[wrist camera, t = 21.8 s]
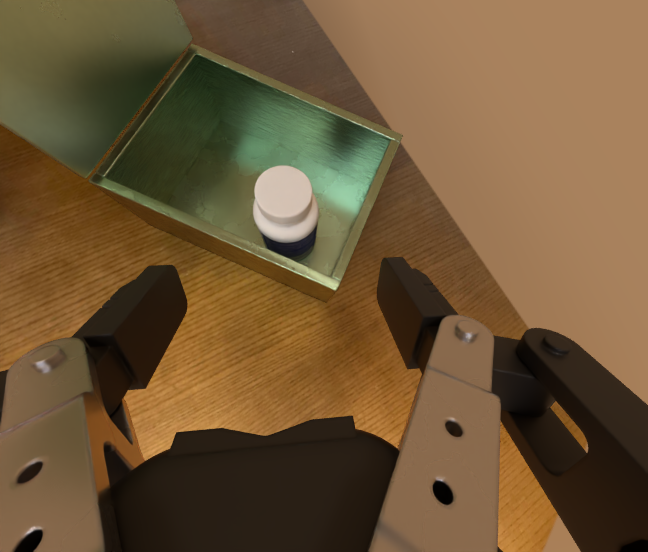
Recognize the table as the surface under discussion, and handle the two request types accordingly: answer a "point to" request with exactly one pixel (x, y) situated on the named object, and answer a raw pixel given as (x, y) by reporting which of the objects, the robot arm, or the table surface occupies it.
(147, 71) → the box lid
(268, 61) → the table surface
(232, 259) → the open box
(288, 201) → the pill bottle
